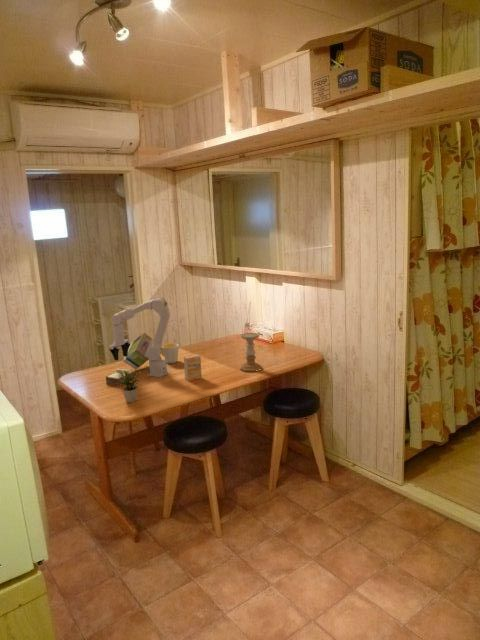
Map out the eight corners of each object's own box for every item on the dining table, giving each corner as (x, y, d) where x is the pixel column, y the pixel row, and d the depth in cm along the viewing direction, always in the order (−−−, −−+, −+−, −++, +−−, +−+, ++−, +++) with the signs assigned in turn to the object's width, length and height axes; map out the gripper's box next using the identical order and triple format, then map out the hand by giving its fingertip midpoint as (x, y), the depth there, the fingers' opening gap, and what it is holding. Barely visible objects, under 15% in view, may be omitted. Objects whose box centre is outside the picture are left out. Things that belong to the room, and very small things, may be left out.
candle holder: (242, 365, 282) (241, 332, 277) (263, 365, 279) (262, 332, 275) (238, 371, 270) (237, 337, 265) (259, 372, 268) (258, 338, 263)
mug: (182, 362, 291) (181, 345, 289) (168, 365, 286) (166, 349, 283) (172, 357, 302) (171, 341, 300) (157, 360, 297) (156, 344, 294)
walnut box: (121, 376, 270) (121, 369, 269) (136, 378, 266) (135, 371, 265) (106, 384, 259) (105, 376, 258) (121, 386, 255) (120, 378, 254)
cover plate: (122, 370, 269) (122, 366, 268) (133, 371, 265) (133, 368, 265) (107, 377, 258) (107, 373, 257) (118, 379, 254) (118, 375, 254)
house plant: (107, 403, 232) (104, 372, 228) (124, 393, 244) (121, 363, 241) (132, 407, 227) (129, 374, 223) (148, 396, 239) (145, 365, 236)
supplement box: (188, 381, 258) (186, 358, 255) (184, 379, 262) (183, 356, 259) (202, 378, 262) (200, 355, 259) (198, 376, 266) (197, 353, 263)
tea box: (136, 370, 280) (149, 359, 272) (122, 361, 277) (135, 349, 268) (144, 352, 291) (157, 341, 283) (130, 343, 288) (143, 331, 279)
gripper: (121, 331, 274) (123, 353, 278) (104, 337, 262) (106, 361, 265) (131, 332, 271) (133, 354, 274) (114, 338, 259) (116, 362, 262)
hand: (121, 358), depth 269 cm, fingers open, 7 cm apart
